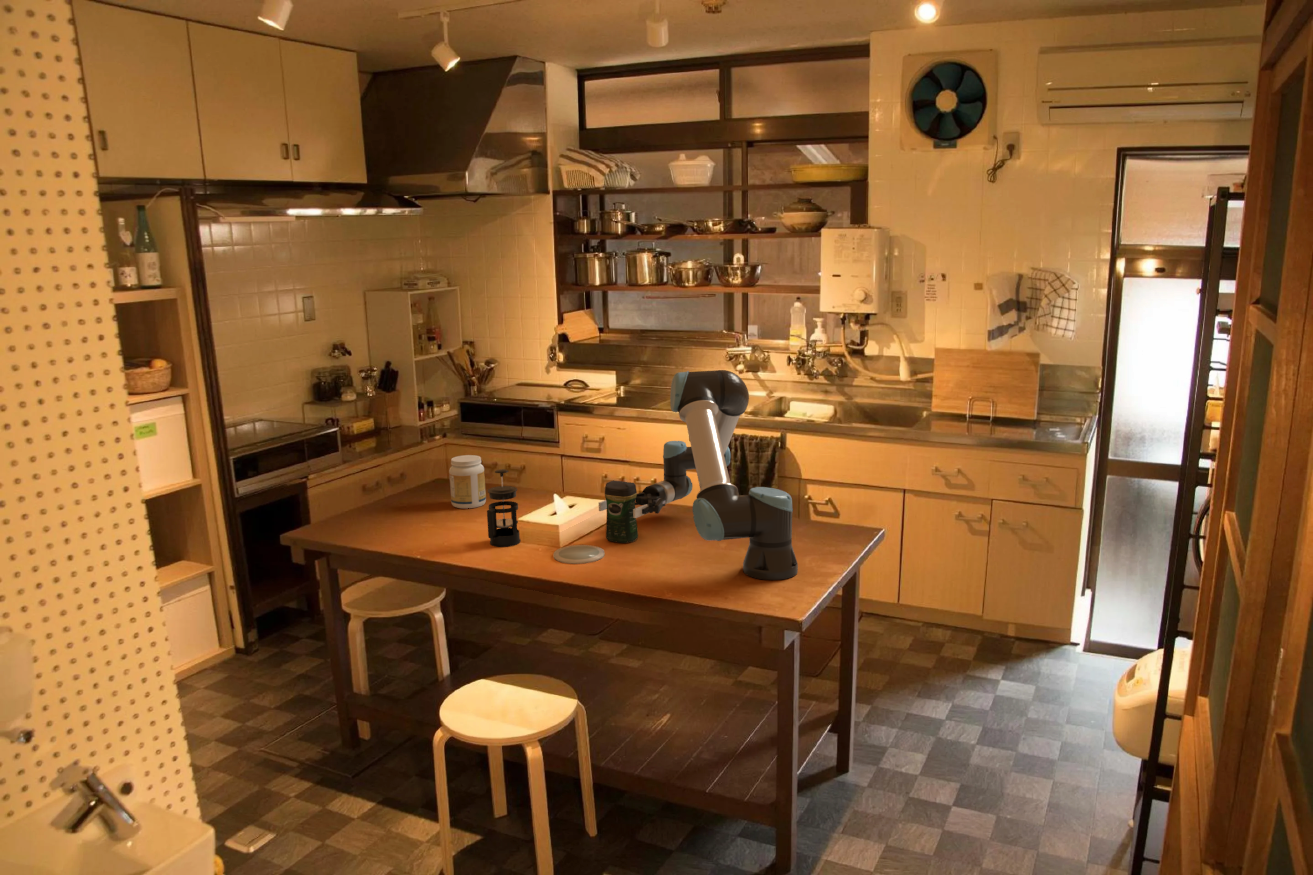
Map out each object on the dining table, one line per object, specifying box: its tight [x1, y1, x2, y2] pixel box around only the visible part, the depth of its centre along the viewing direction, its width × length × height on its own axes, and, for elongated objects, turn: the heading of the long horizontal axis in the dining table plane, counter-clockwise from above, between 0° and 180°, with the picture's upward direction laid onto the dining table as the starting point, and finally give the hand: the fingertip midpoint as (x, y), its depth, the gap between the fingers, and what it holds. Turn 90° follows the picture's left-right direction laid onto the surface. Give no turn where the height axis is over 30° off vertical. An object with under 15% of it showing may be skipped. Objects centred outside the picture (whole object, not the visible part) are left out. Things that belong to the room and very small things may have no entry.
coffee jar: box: [604, 479, 639, 544], centre depth 293 cm, size 10×8×19 cm
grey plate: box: [553, 544, 605, 565], centre depth 281 cm, size 15×15×1 cm
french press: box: [486, 468, 521, 548], centre depth 292 cm, size 12×9×23 cm
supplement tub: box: [448, 454, 487, 510], centre depth 335 cm, size 12×12×17 cm
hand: (616, 510), depth 291 cm, fingers open, 13 cm apart
